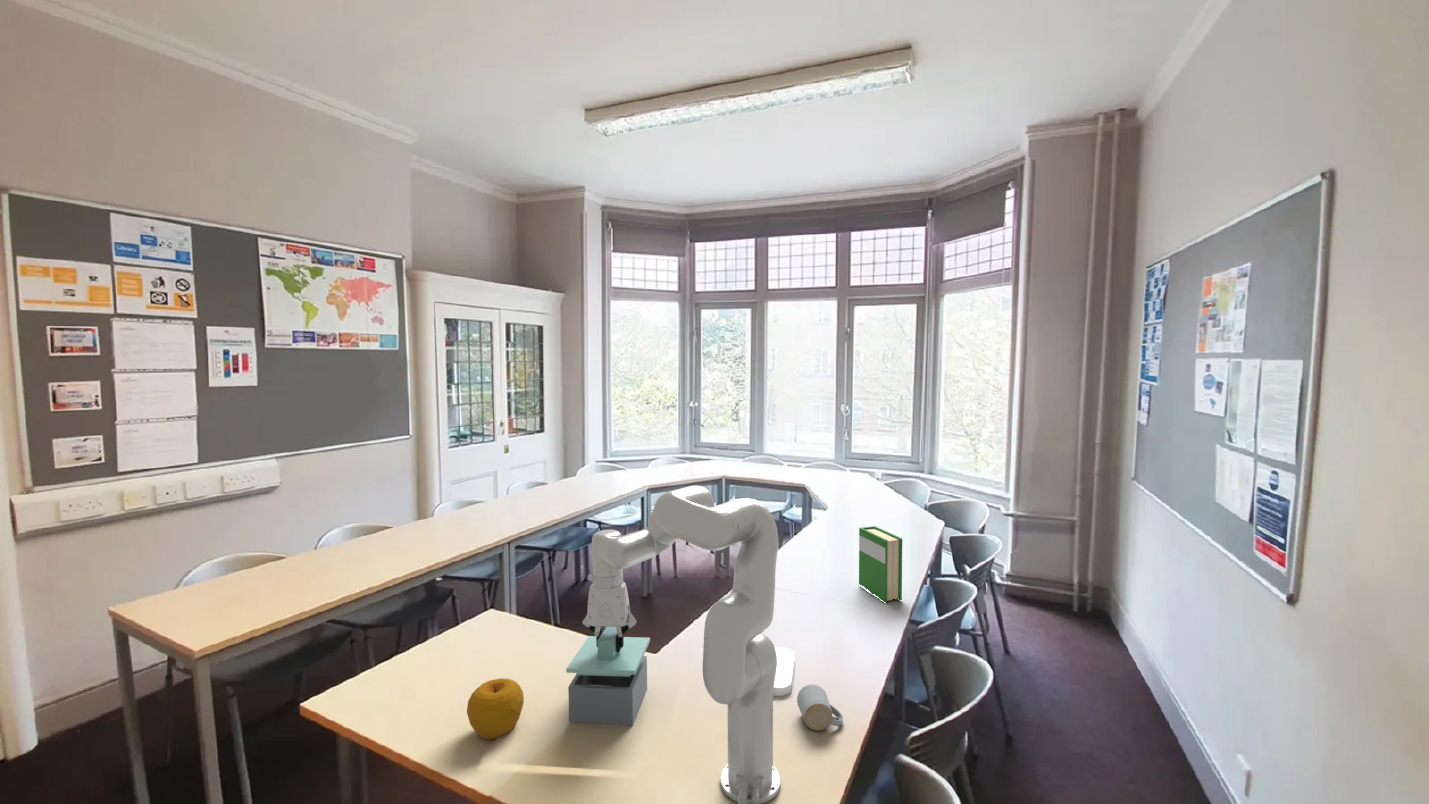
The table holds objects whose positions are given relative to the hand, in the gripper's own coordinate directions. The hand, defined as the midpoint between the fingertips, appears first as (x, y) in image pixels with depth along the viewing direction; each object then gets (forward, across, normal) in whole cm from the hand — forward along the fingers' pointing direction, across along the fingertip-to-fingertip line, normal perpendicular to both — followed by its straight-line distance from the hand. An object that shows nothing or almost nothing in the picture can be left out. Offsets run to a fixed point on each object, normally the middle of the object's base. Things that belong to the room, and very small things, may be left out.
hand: (610, 648), depth 142 cm
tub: (+16, -1, 0) cm, 16 cm away
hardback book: (+17, +83, +82) cm, 118 cm away
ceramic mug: (+17, +53, 0) cm, 56 cm away
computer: (+17, +36, +21) cm, 45 cm away
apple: (+16, -26, -11) cm, 32 cm away
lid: (+3, 0, 0) cm, 3 cm away
